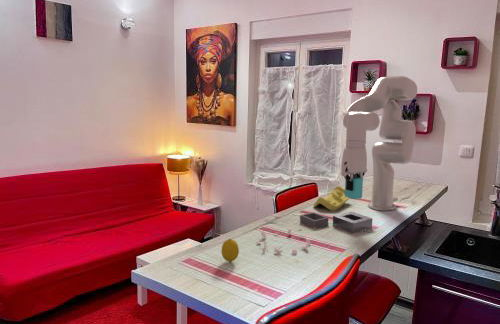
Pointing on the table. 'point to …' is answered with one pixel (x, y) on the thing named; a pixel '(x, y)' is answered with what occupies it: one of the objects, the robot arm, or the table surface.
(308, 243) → the game piece set
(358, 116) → the robot arm
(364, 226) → the port
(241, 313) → the table surface
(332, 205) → the plastic component
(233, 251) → the lemon
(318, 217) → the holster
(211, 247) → the table surface
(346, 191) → the plug
